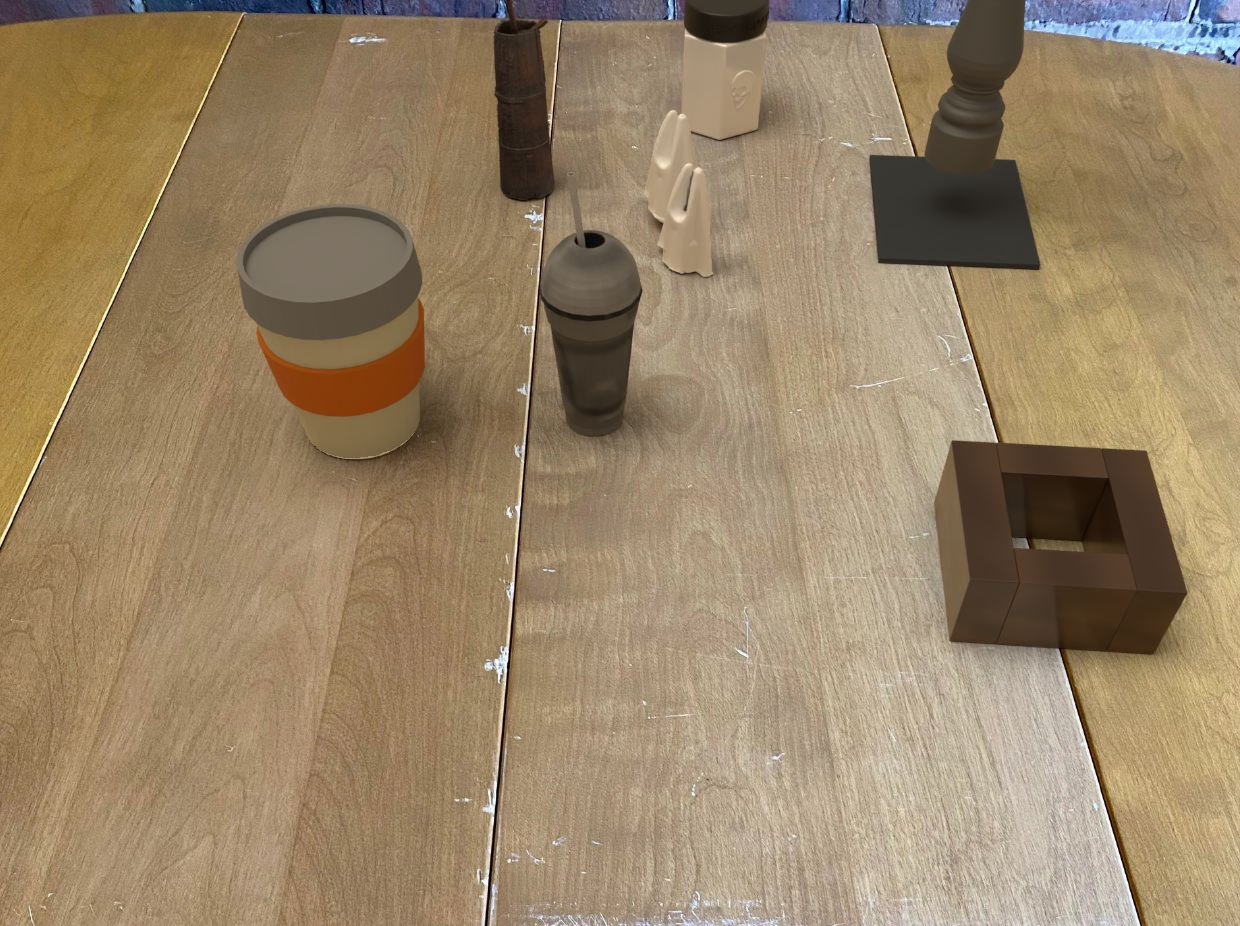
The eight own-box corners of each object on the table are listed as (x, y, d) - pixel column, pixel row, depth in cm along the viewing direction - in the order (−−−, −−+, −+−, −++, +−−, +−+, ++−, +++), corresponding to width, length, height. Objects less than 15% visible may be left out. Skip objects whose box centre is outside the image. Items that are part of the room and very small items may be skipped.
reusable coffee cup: (251, 453, 90) (195, 282, 78) (333, 357, 97) (293, 188, 86) (396, 493, 87) (361, 321, 75) (470, 391, 94) (448, 220, 82)
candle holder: (979, 182, 103) (1063, -147, 83) (913, 163, 105) (980, -163, 86) (1004, 152, 106) (1092, -172, 87) (940, 133, 108) (1011, -186, 89)
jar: (701, 147, 118) (707, 23, 108) (662, 112, 122) (665, -10, 113) (777, 126, 120) (790, 3, 111) (736, 93, 125) (745, -29, 116)
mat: (1014, 164, 115) (1015, 159, 114) (1039, 269, 103) (1040, 264, 103) (869, 159, 116) (869, 154, 115) (878, 262, 104) (879, 257, 104)
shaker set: (642, 209, 111) (643, 92, 102) (685, 204, 111) (690, 88, 103) (668, 282, 103) (672, 162, 95) (714, 276, 104) (722, 157, 95)
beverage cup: (622, 457, 89) (622, 215, 73) (533, 436, 90) (514, 195, 75) (653, 398, 93) (659, 158, 78) (567, 379, 95) (556, 141, 79)
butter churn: (587, 159, 117) (579, -170, 95) (583, 211, 111) (574, -128, 89) (495, 159, 117) (466, -169, 95) (486, 210, 111) (453, -127, 89)
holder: (1118, 513, 84) (1146, 449, 79) (1153, 654, 76) (1188, 593, 71) (933, 503, 85) (951, 439, 80) (949, 641, 77) (970, 579, 72)
